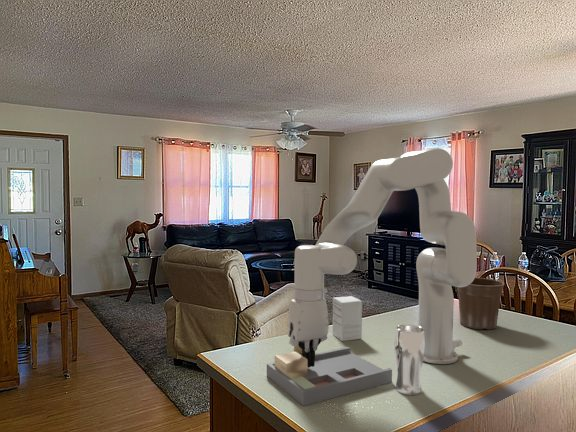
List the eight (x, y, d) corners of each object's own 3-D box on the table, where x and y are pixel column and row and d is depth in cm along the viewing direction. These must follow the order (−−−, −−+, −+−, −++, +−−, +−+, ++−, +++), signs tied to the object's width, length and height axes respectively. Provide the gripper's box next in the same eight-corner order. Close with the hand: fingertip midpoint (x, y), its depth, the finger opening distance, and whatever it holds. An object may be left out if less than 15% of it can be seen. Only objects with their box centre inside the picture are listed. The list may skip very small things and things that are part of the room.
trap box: (347, 357, 124) (348, 346, 124) (391, 381, 108) (392, 369, 108) (266, 375, 111) (266, 363, 111) (303, 406, 95) (303, 391, 95)
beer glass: (389, 383, 107) (391, 324, 106) (417, 383, 108) (418, 323, 107) (399, 396, 100) (400, 333, 100) (428, 396, 101) (430, 332, 100)
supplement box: (351, 332, 147) (352, 295, 146) (362, 339, 140) (362, 300, 139) (331, 334, 145) (332, 297, 144) (341, 341, 138) (341, 302, 137)
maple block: (295, 366, 112) (295, 351, 112) (307, 375, 107) (307, 359, 107) (274, 370, 109) (274, 355, 109) (286, 379, 104) (286, 363, 104)
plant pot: (460, 316, 168) (461, 275, 167) (506, 323, 158) (508, 280, 158) (448, 326, 155) (449, 281, 154) (498, 335, 145) (499, 287, 144)
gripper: (325, 288, 117) (324, 355, 118) (276, 294, 109) (275, 365, 110) (341, 294, 110) (340, 364, 111) (290, 301, 103) (290, 376, 104)
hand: (308, 365), depth 111 cm, fingers closed
